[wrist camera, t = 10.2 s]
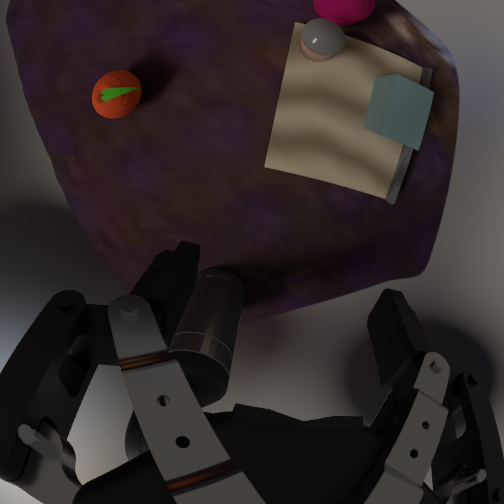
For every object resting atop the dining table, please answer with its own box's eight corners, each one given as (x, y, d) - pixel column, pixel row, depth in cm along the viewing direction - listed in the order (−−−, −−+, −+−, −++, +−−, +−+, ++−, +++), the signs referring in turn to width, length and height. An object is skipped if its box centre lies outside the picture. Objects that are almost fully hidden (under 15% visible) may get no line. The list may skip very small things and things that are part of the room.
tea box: (362, 127, 29) (381, 135, 23) (375, 77, 25) (396, 73, 20) (396, 140, 29) (419, 151, 23) (408, 91, 25) (435, 93, 20)
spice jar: (329, 66, 26) (341, 59, 20) (295, 58, 26) (298, 48, 20) (335, 38, 23) (348, 25, 18) (301, 29, 23) (306, 14, 18)
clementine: (156, 64, 28) (130, 60, 22) (158, 110, 32) (133, 115, 26) (109, 76, 29) (79, 77, 23) (112, 118, 33) (83, 126, 27)
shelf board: (386, 196, 35) (394, 204, 33) (265, 164, 35) (263, 170, 32) (422, 70, 24) (433, 69, 22) (294, 25, 24) (295, 18, 22)
